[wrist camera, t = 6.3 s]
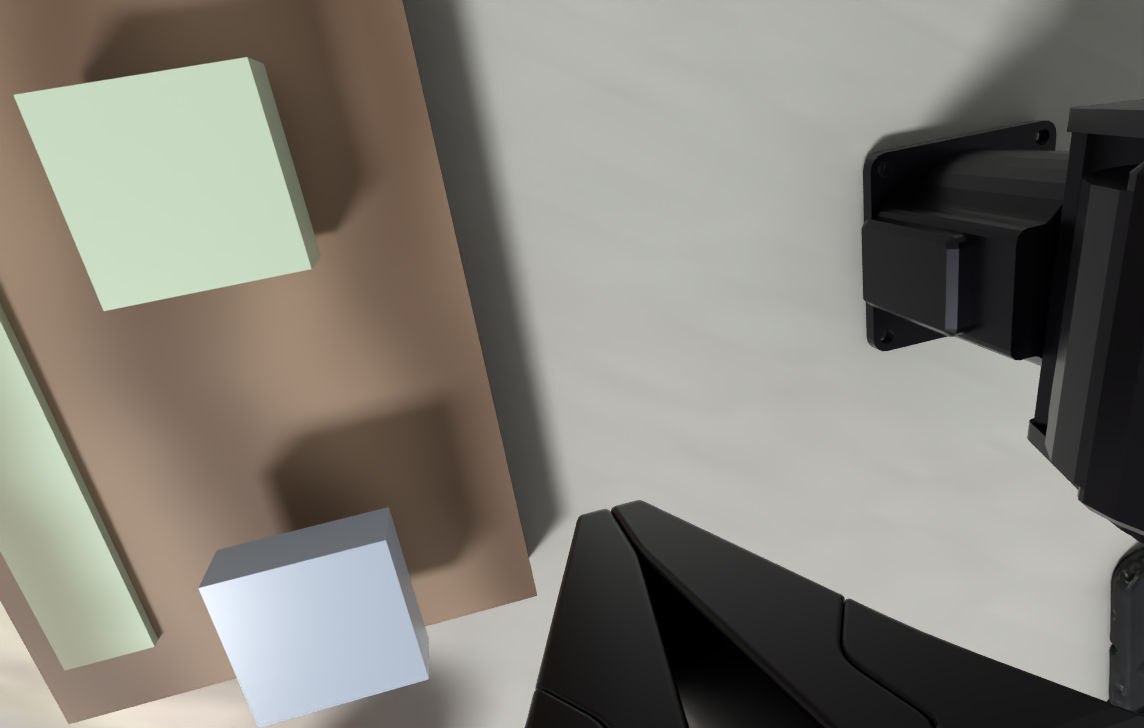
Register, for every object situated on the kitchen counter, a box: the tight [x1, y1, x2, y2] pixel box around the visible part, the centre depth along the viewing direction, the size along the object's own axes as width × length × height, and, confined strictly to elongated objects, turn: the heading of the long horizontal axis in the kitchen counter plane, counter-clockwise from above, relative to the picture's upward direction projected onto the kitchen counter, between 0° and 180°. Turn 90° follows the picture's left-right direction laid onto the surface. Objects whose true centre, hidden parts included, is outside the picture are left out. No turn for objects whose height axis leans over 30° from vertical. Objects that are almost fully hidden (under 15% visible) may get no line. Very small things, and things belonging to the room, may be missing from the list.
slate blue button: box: [198, 507, 429, 728], centre depth 18 cm, size 4×4×2 cm
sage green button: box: [14, 57, 321, 311], centre depth 15 cm, size 4×4×2 cm
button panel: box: [0, 0, 537, 724], centre depth 17 cm, size 14×28×2 cm, turn 10°
